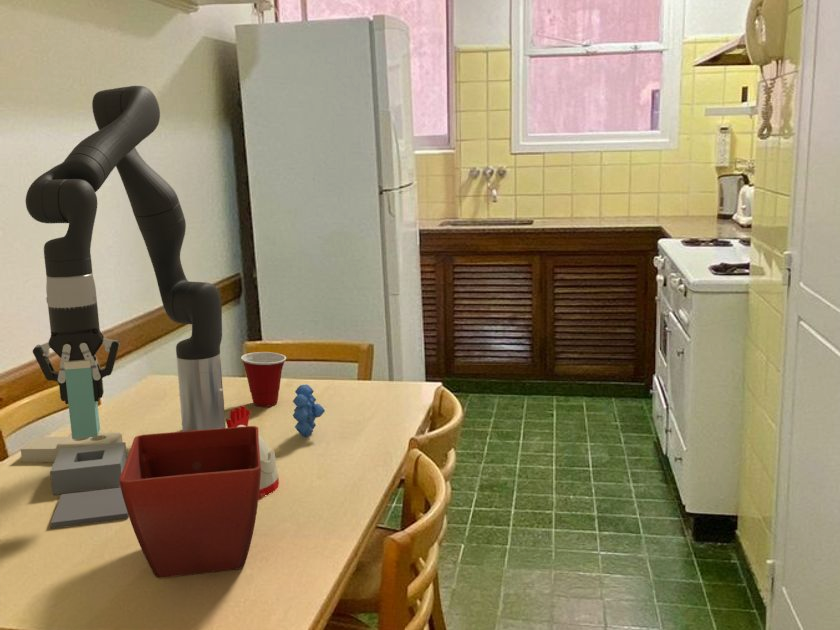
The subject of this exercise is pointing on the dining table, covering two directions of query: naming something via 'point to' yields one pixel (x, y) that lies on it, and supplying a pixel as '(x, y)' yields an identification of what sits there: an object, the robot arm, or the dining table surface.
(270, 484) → the kitchen timer
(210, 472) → the plant pot
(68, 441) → the electrical outlet
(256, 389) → the plastic cup
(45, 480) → the dining table surface
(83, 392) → the plug
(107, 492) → the mat
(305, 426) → the grapes
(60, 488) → the grey square socket block
